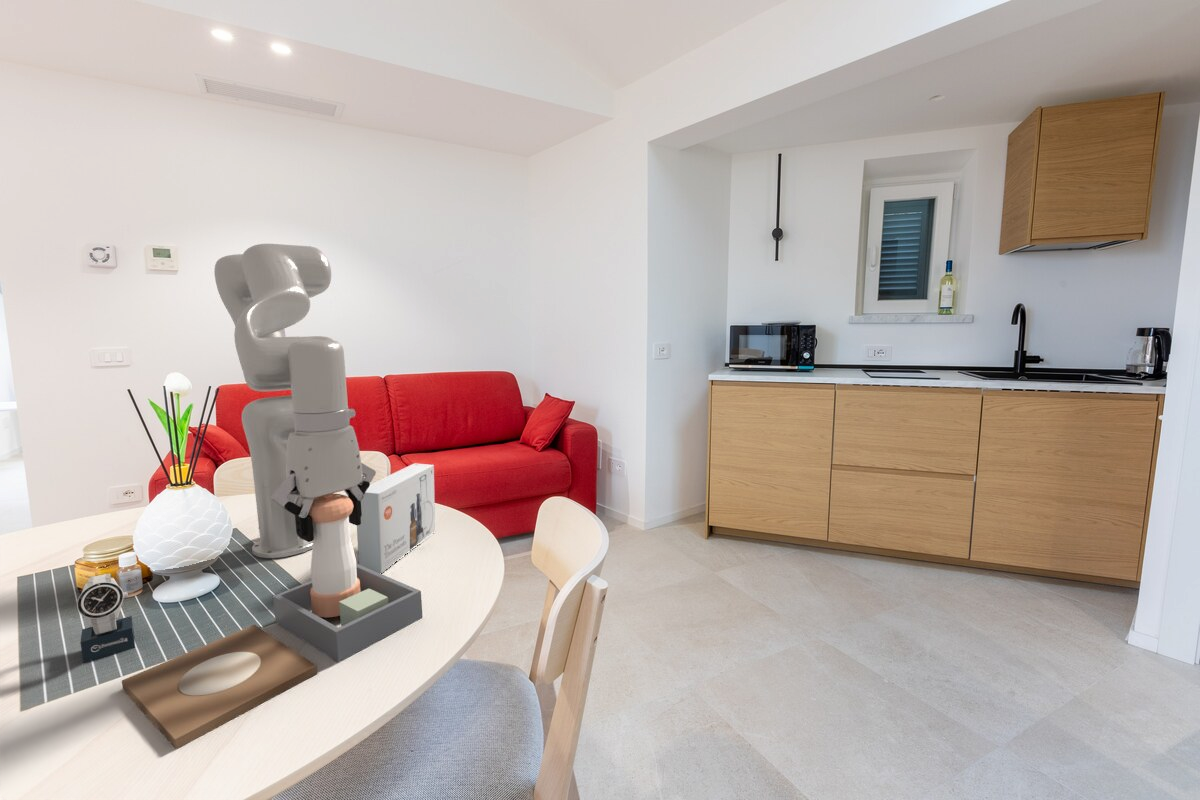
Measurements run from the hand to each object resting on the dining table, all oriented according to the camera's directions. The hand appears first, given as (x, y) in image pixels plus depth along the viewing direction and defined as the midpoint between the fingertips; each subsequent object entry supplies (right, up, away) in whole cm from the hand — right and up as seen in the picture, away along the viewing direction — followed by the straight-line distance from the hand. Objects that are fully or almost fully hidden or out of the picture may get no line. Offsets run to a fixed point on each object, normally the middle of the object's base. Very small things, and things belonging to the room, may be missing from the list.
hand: (330, 530), depth 88 cm
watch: (-29, -16, -7) cm, 34 cm away
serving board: (-7, -17, -15) cm, 23 cm away
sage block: (+7, -15, -3) cm, 16 cm away
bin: (+3, -14, 0) cm, 15 cm away
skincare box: (+2, -11, +26) cm, 28 cm away
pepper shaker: (0, -13, +2) cm, 13 cm away
